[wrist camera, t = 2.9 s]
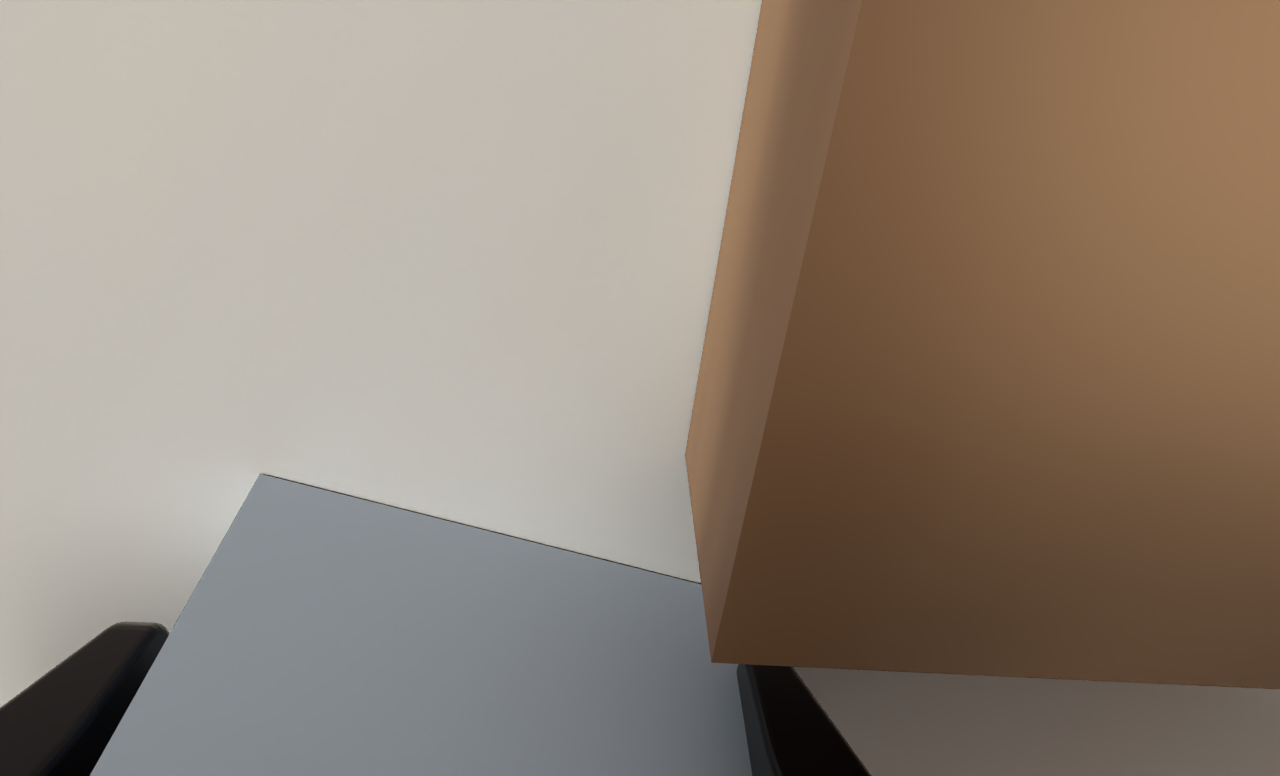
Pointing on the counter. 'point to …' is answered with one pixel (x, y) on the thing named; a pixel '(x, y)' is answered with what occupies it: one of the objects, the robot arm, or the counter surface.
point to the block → (425, 657)
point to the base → (999, 344)
